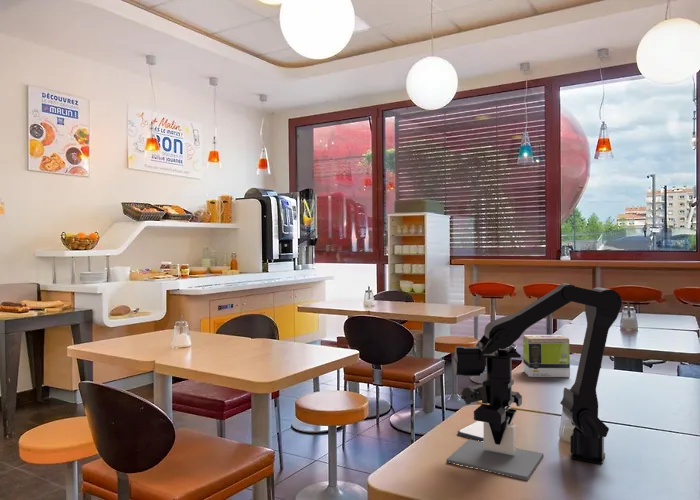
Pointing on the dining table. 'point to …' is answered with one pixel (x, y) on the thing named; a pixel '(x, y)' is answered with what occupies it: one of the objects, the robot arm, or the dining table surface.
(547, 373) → the tea box
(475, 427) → the phone case
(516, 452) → the mat
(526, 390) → the dining table surface
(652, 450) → the dining table surface
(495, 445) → the block
